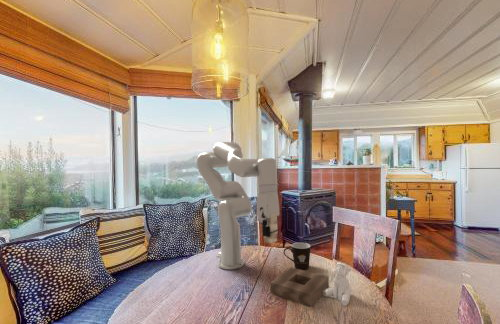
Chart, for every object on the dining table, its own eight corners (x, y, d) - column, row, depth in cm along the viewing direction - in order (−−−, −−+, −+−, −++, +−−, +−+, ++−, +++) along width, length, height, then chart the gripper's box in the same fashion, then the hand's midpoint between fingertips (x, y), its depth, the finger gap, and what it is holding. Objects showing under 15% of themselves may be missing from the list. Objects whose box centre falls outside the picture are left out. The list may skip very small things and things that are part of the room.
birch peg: (262, 242, 98) (261, 213, 98) (268, 239, 101) (267, 211, 102) (272, 243, 95) (270, 214, 95) (278, 240, 99) (276, 212, 99)
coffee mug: (313, 265, 114) (313, 244, 114) (307, 272, 107) (306, 249, 107) (290, 261, 120) (289, 240, 121) (283, 267, 113) (282, 245, 113)
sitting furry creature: (321, 295, 88) (320, 262, 88) (335, 287, 93) (334, 256, 94) (345, 307, 81) (344, 270, 81) (359, 298, 86) (358, 263, 86)
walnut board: (270, 293, 91) (270, 282, 91) (291, 276, 104) (290, 267, 104) (311, 307, 81) (311, 294, 81) (328, 287, 94) (328, 276, 94)
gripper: (271, 187, 108) (273, 229, 107) (247, 190, 94) (249, 238, 94) (286, 187, 103) (288, 231, 103) (263, 191, 90) (266, 241, 89)
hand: (270, 234), depth 98 cm, fingers closed on birch peg, 4 cm apart
